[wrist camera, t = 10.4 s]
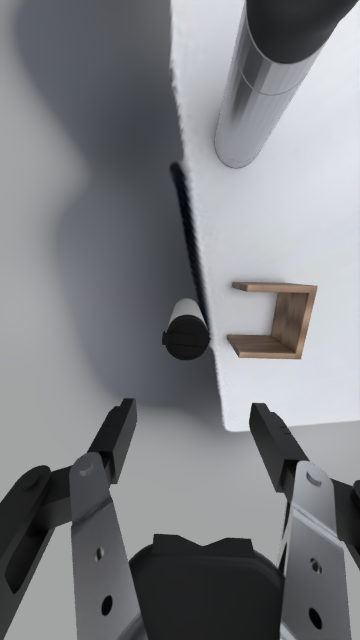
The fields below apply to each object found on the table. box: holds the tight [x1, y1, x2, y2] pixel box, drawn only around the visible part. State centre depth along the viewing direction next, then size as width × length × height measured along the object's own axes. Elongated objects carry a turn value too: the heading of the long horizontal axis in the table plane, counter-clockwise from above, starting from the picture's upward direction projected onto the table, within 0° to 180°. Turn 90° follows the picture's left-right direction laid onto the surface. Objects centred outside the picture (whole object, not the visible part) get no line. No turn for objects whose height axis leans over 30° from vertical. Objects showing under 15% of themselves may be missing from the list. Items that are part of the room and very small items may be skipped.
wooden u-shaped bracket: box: [227, 282, 318, 359], centre depth 36 cm, size 14×12×10 cm
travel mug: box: [162, 298, 209, 360], centre depth 32 cm, size 6×7×20 cm
